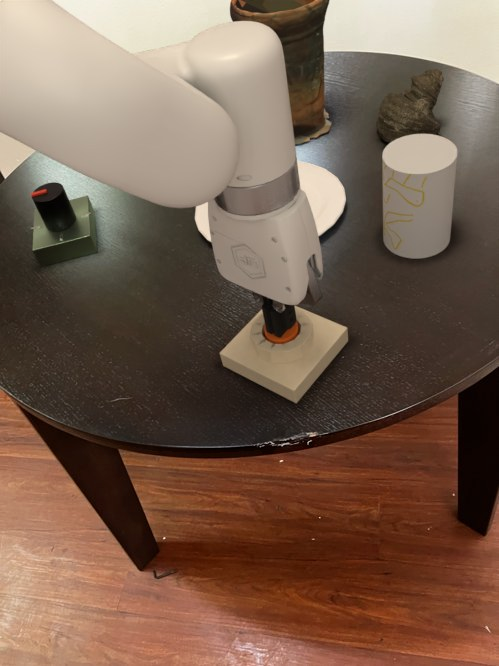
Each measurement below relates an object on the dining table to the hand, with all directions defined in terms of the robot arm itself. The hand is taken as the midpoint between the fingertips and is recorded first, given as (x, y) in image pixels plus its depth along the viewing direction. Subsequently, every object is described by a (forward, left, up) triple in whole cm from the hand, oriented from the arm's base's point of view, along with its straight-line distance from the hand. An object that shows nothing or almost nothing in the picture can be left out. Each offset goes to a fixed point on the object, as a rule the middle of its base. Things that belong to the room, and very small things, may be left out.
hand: (281, 326), depth 68 cm
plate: (+20, +17, -4) cm, 27 cm away
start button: (0, 0, -2) cm, 2 cm away
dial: (+2, +40, -1) cm, 40 cm away
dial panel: (+2, +40, -4) cm, 40 cm away
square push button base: (0, 0, -4) cm, 4 cm away
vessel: (+41, +28, -4) cm, 50 cm away
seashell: (+44, +11, -5) cm, 45 cm away
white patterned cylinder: (+24, -3, -5) cm, 24 cm away
